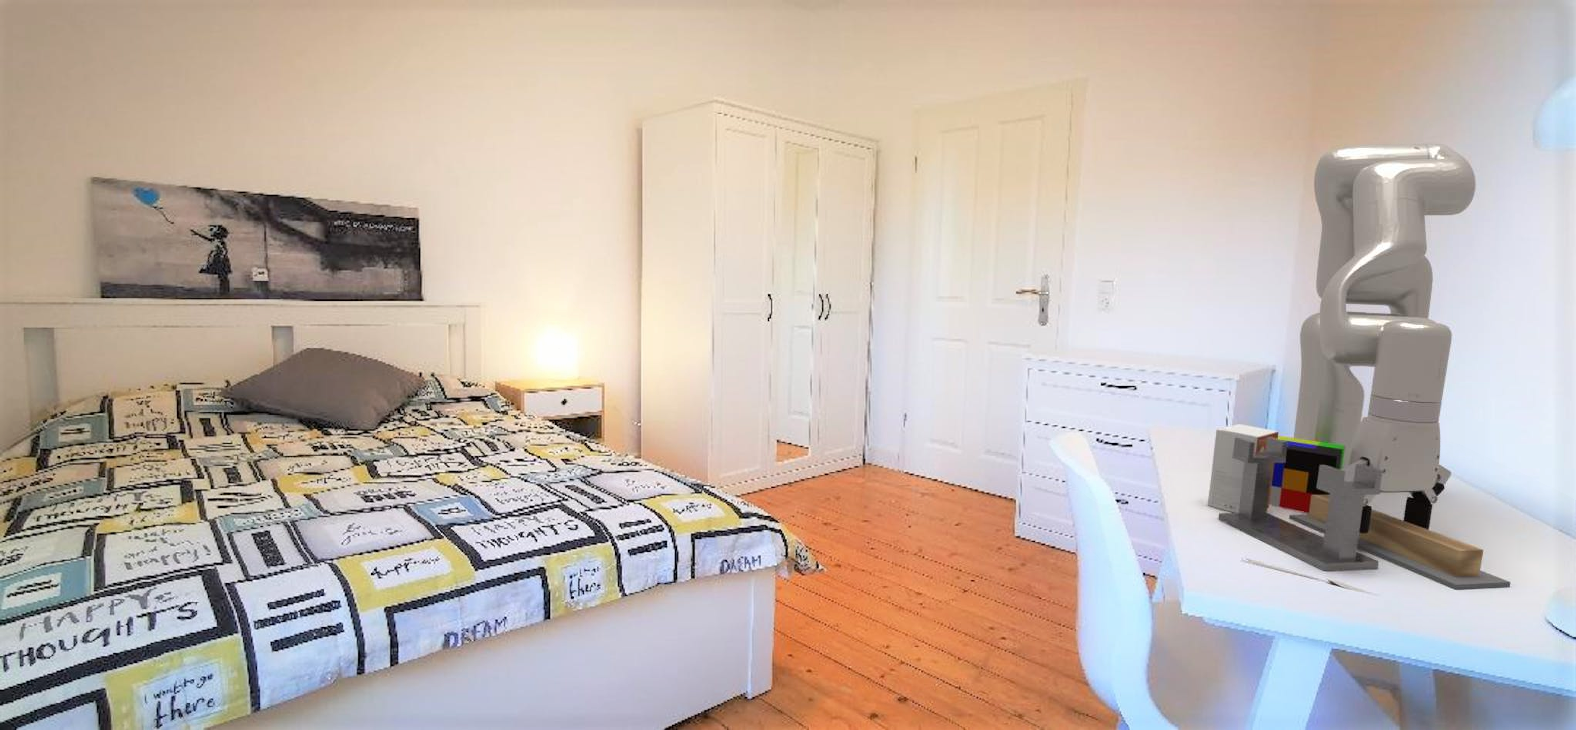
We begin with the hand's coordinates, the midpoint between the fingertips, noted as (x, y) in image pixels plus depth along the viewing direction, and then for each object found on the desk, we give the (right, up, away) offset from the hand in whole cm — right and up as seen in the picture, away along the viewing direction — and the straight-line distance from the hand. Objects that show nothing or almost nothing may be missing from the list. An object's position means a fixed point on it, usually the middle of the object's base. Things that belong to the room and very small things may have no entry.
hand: (1385, 528), depth 103 cm
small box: (-11, 0, +16) cm, 20 cm away
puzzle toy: (+1, 0, +20) cm, 20 cm away
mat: (0, -3, 0) cm, 3 cm away
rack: (-12, -2, +1) cm, 13 cm away
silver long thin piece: (-17, -5, -12) cm, 21 cm away
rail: (0, -2, 0) cm, 2 cm away
